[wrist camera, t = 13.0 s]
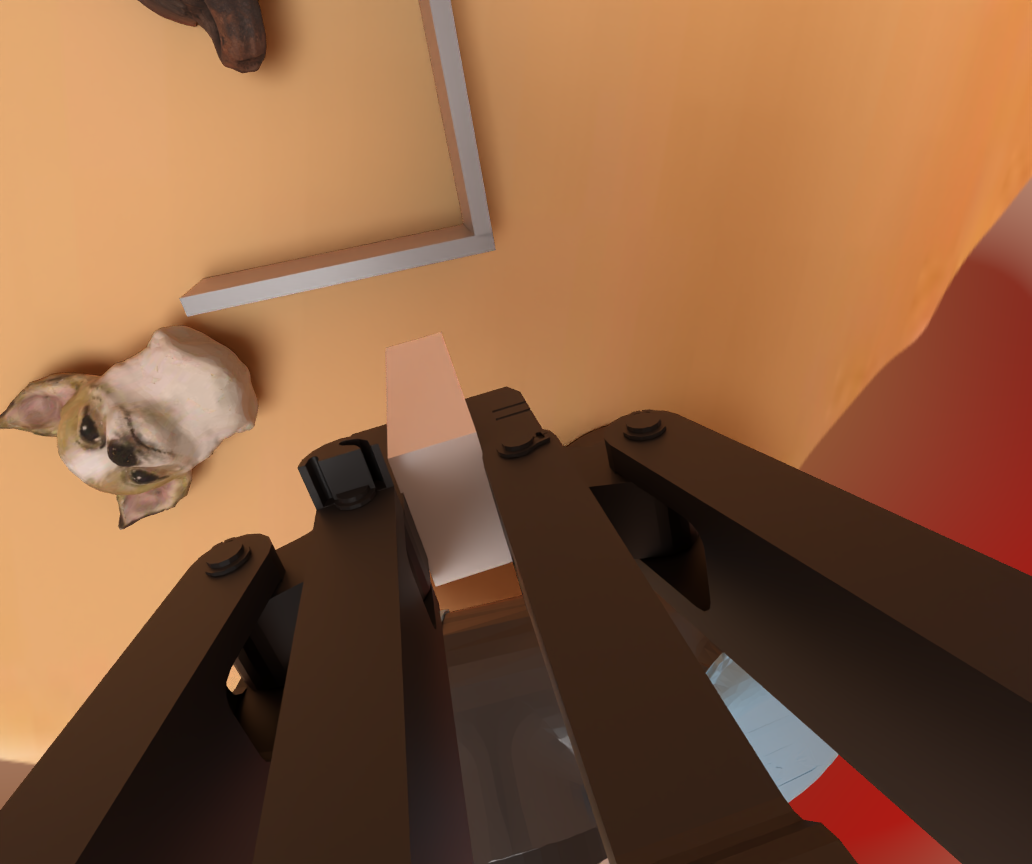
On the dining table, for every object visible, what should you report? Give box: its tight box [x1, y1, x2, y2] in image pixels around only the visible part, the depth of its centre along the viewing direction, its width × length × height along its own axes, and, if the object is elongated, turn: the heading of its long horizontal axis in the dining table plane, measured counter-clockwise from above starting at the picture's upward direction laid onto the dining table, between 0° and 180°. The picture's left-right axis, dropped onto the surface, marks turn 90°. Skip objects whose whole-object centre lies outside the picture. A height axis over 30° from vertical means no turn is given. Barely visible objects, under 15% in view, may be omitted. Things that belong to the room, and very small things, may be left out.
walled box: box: [179, 0, 496, 317], centre depth 30 cm, size 24×17×5 cm
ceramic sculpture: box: [0, 325, 258, 530], centre depth 36 cm, size 11×9×15 cm
